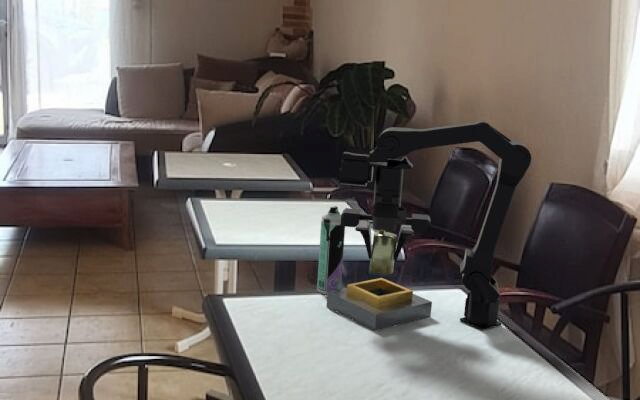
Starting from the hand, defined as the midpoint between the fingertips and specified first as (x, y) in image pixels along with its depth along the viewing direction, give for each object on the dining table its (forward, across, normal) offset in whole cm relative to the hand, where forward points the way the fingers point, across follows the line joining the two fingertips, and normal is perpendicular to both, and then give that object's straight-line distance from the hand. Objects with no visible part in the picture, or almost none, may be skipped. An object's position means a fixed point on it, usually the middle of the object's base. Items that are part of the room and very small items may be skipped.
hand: (382, 259), depth 173 cm
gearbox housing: (+12, 0, 0) cm, 12 cm away
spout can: (+2, 0, 0) cm, 3 cm away
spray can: (+12, -12, +11) cm, 20 cm away
